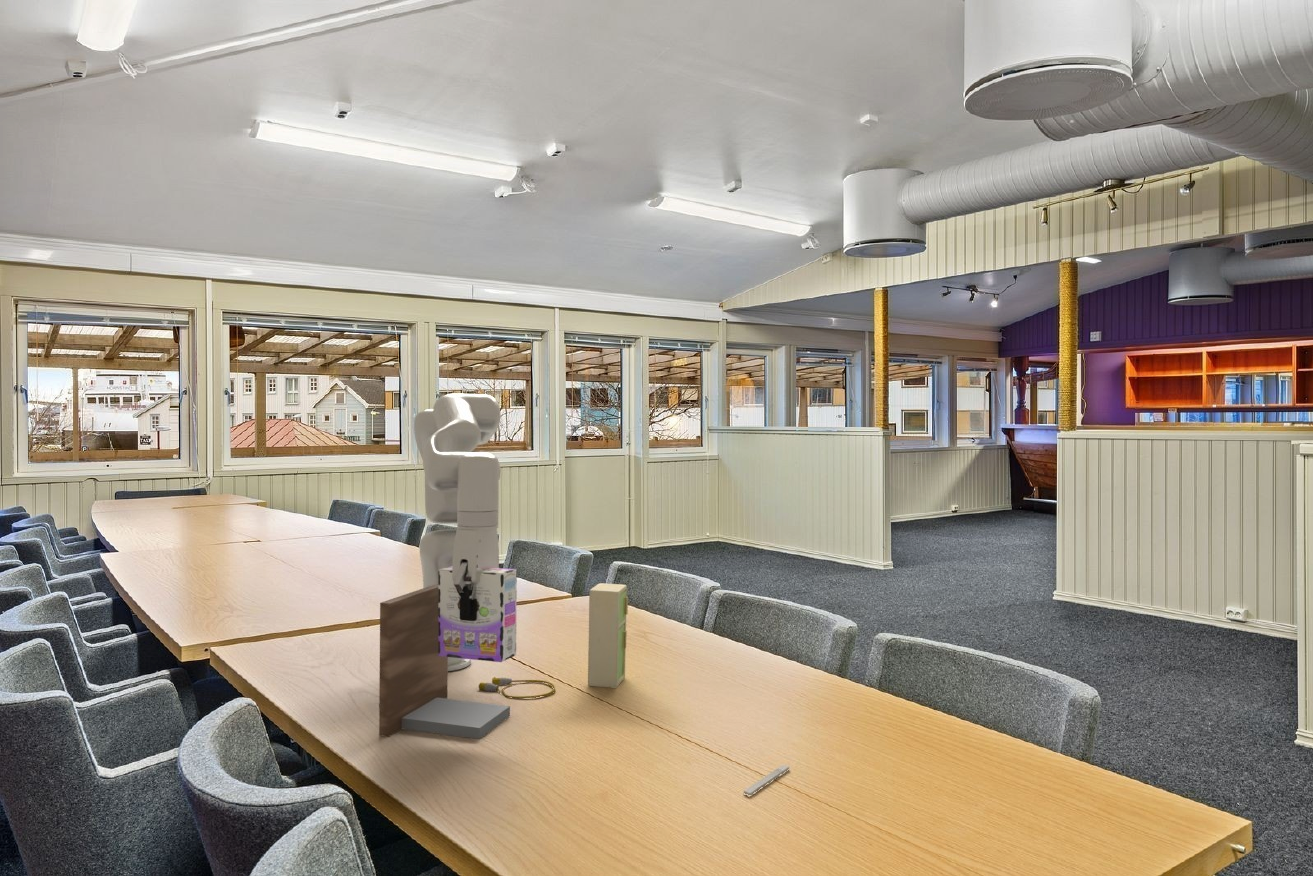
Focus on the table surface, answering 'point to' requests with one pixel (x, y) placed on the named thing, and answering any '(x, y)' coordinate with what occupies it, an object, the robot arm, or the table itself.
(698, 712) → the table surface
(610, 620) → the toy refrigerator
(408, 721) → the cleat ledge
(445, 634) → the candy box
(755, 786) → the ruler
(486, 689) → the extension cord
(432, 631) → the wall board
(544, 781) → the table surface
